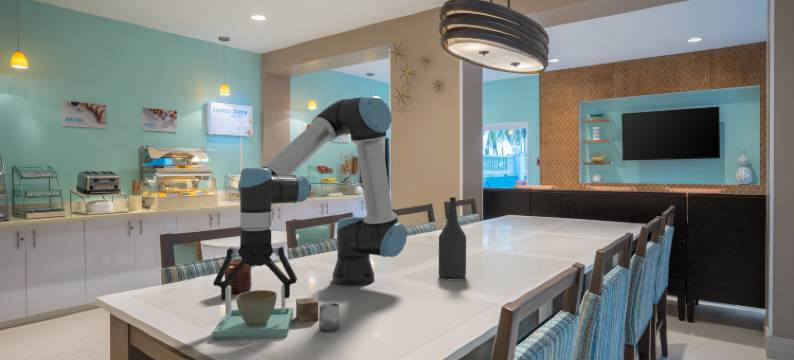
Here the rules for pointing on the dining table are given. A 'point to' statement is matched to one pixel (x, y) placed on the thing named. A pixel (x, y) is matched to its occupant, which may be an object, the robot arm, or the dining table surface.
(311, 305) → the walnut block
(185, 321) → the dining table surface
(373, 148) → the robot arm
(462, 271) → the bottle
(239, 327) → the tray
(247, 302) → the flower pot
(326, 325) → the grey tin
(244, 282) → the mug
